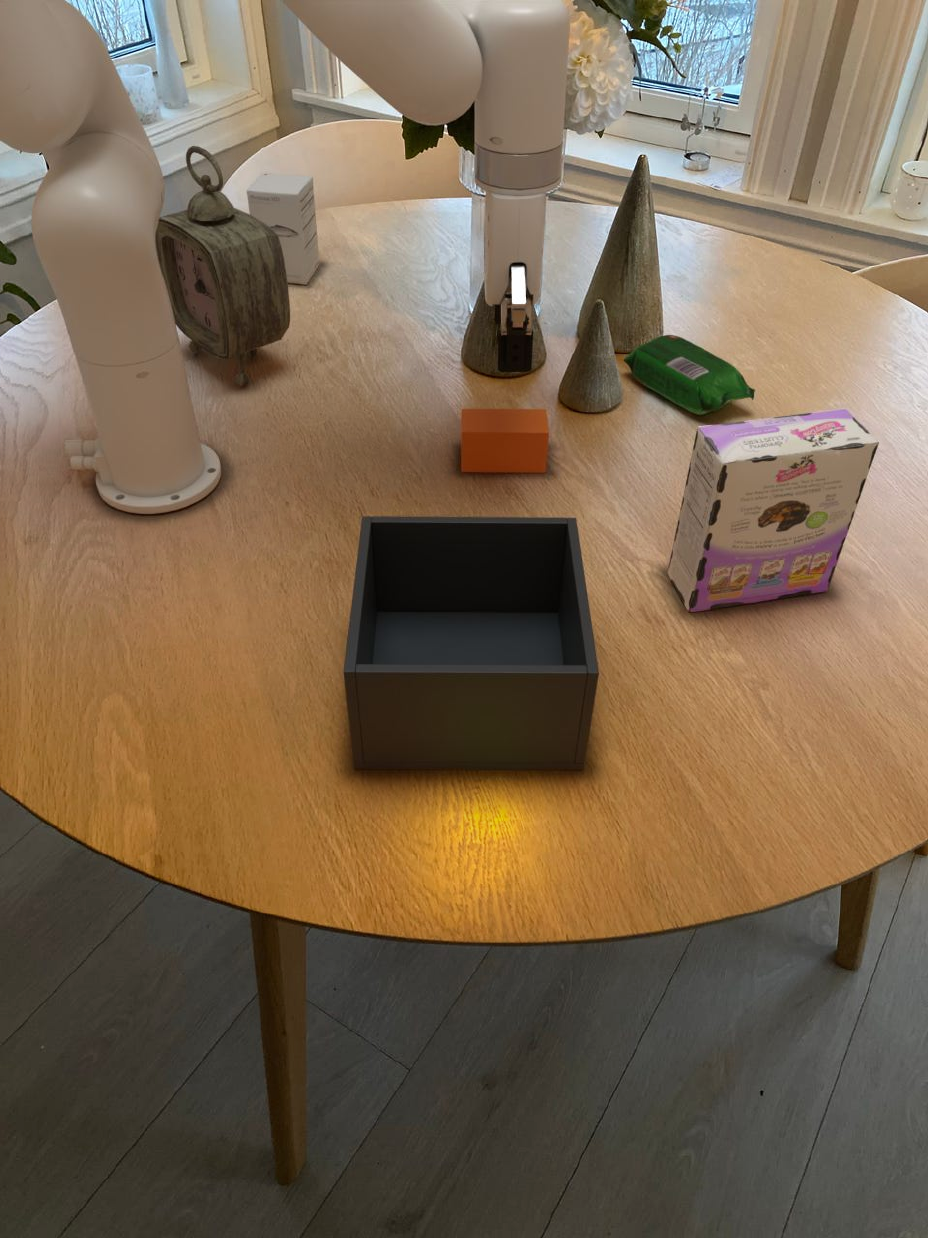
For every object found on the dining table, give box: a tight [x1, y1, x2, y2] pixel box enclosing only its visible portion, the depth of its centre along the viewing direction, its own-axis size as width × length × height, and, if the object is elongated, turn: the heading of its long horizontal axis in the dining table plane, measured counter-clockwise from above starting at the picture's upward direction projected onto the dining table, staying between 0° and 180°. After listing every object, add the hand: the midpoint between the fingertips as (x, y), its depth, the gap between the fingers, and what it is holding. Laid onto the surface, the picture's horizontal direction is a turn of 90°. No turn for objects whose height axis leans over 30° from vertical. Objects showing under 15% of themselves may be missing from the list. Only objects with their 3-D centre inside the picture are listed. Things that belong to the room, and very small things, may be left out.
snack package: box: [622, 334, 756, 416], centre depth 112 cm, size 7×16×5 cm, turn 35°
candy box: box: [666, 407, 880, 613], centre depth 84 cm, size 14×6×16 cm, turn 102°
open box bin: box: [342, 515, 600, 771], centre depth 76 cm, size 18×18×11 cm
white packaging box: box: [246, 172, 320, 286], centre depth 133 cm, size 7×7×13 cm
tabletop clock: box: [155, 145, 291, 388], centre depth 110 cm, size 14×9×25 cm, turn 42°
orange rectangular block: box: [460, 408, 550, 474], centre depth 102 cm, size 9×5×5 cm, turn 90°
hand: (512, 345), depth 94 cm, fingers open, 9 cm apart
